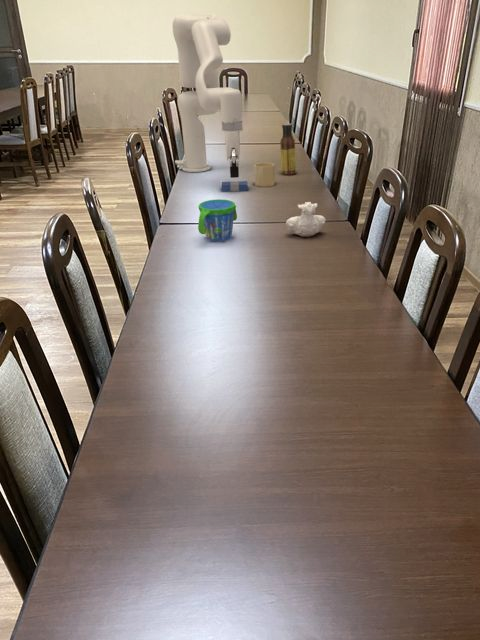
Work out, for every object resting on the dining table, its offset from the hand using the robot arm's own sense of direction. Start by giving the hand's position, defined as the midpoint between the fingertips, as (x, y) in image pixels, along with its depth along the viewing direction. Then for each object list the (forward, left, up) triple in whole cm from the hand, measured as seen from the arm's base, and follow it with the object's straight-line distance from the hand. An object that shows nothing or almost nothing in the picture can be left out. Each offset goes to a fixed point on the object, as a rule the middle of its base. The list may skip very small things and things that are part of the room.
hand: (234, 174), depth 206 cm
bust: (+21, -57, -6) cm, 61 cm away
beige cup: (+12, +7, -6) cm, 15 cm away
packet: (0, 0, -6) cm, 6 cm away
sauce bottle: (+23, +24, -6) cm, 34 cm away
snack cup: (-5, -57, -6) cm, 57 cm away
